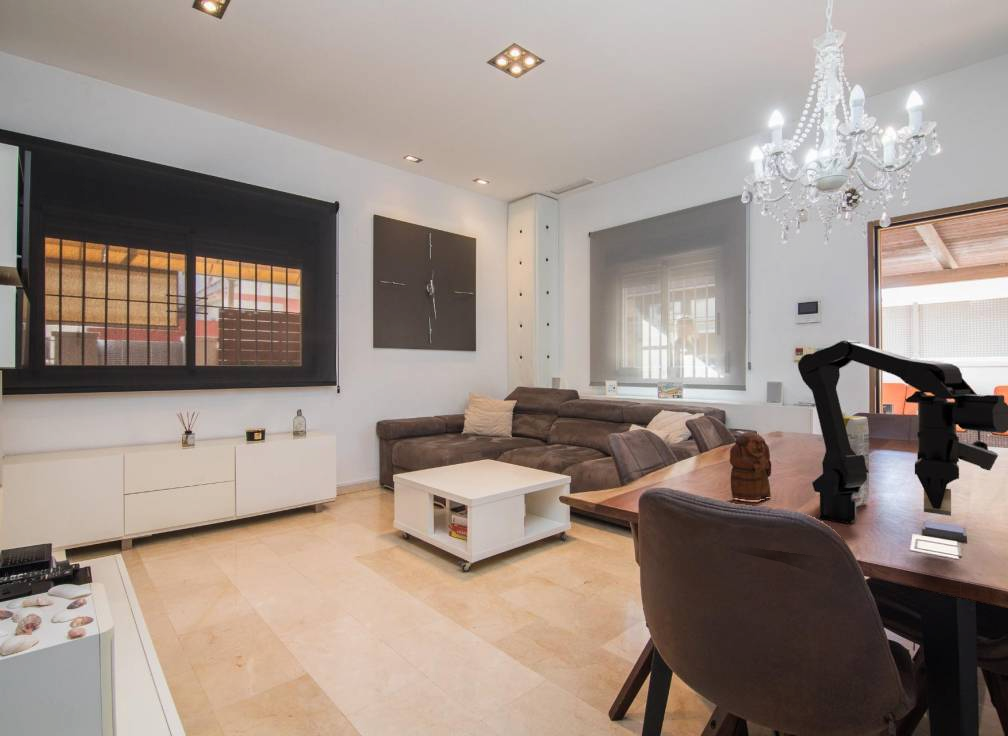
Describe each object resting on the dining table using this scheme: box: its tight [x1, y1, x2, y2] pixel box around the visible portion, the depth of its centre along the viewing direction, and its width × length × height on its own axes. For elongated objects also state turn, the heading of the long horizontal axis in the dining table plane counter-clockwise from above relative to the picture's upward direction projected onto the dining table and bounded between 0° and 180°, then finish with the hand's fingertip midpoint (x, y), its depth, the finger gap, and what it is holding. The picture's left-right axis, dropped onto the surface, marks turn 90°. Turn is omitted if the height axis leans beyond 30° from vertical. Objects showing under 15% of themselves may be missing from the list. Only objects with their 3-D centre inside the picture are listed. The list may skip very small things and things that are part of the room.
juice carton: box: [824, 411, 870, 508], centre depth 130 cm, size 9×8×24 cm
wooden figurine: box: [729, 432, 772, 500], centre depth 135 cm, size 12×6×18 cm, turn 119°
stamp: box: [923, 488, 952, 517], centre depth 98 cm, size 4×4×6 cm
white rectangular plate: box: [909, 533, 962, 560], centre depth 99 cm, size 7×12×1 cm, turn 139°
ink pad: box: [921, 520, 968, 543], centre depth 107 cm, size 7×7×2 cm
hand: (936, 506), depth 98 cm, fingers closed on stamp, 4 cm apart
